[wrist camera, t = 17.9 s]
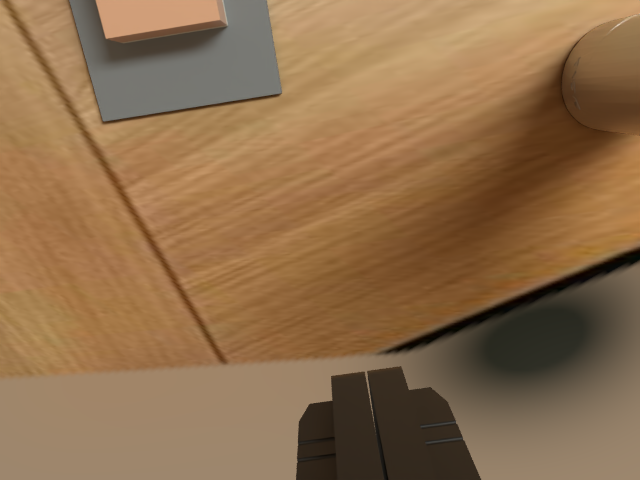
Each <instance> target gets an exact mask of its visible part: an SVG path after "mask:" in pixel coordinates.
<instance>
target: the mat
mask: <svg viewBox="0 0 640 480" xmlns="http://www.w3.org/2000/svg"><path fill="white" fill-rule="evenodd" d="M69 1H70V5H71V9H72V12H73V16H74V19H75V23H76V26H77V30H78V34H79V37H80V41H81V44H82V48H83V51H84V55H85V59H86V62H87V66H88V69H89V73H90V76H91V80H92V84H93V87H94V91H95V94H96V98H97V101H98V105H99V108H100V112H101V116H102V119H103V122H104V121H110V120H117V119H123V118H129V117H135V116H142V115H148V114H154V113H161V112H167V111H173V110H179V109H186V108H192V107H198V106H205V105H211V104H217V103H223V102H230V101H236V100H242V99H249V98H255V97H261V96H267V95H274V94H280V93H282V90H281V84H280V78H279V72H278V66H277V60H276V54H275V48H274V42H273V36H272V30H271V24H270V18H269V12H268V6H267V0H223V2H224V7H225V12H226V17H227V23H228V26H226V27H220V28H214V29H208V30H202V31H196V32H189V33H183V34H177V35H171V36H165V37H159V38H153V39H147V40H141V41H135V42H129V43H120V42H116V41H113V40H109V39H106V37H105V33H104V30H103V26H102V22H101V18H100V15H99V11H98V7H97V3H96V0H69Z"/></svg>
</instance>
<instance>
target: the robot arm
mask: <svg viewBox="0 0 640 480" xmlns="http://www.w3.org/2000/svg"><path fill="white" fill-rule="evenodd" d="M562 95H563V99H564V102H565V105H566V107H567V109H568V110H569V112H570V114H571V115H572V116H573V117H574V118H575V119H576V120H577V121H578V122H579V123H581V124H583V125H585V126H586V127H589V128H592V129H596V130H602V131H610V132H618V133H624V134H632V135H640V14H638V15H634V16H629V17H625V18H621V19H617V20H613V21H610V22H607V23H604V24H602V25H599V26H598V27H596V28H594V29H593V30H591V31H590V32H588V33H587V34H586V35H585V36H584V37H583V38H582V39H581V40H580V41H579V42H578V43H577V44H576V46H575V47H574V48H573V50H572V51H571V53H570V55H569V57H568V59H567V61H566V64H565V67H564V71H563V75H562ZM367 373H368V381H369V388H370V395H371V402H372V409H373V416H374V421H373V416H372V411H371V405H370V399H369V394H368V388H367V382H366V377H365V372H358V373H351V374H343V375H336V376H331V382H332V398H333V399H332V400H333V401H327V402H320V403H313V404H309V406H308V407H307V409H306V411H305V413H304V414H303V416H302V418H301V419H300V421H299V432H298V453H297V455H298V456H297V461H298V463H297V474H296V480H481V478H480V476H479V474H478V472H477V469H476V467H475V465H474V462H473V460H472V458H471V455H470V453H469V451H468V448H467V446H466V444H465V441H463V437H462V434H461V432H460V430H459V427H458V425H457V424H456V421H455V418H454V416H453V413H452V411H451V409H450V407H449V404H448V402H447V401H446V400H445V399H443V398H442V397H441V396H440V395H439V394H438V393H436V392H435V391H434V390H432V388H431V387H429V388H422V389H415V390H409V389H408V386H407V383H406V380H405V377H404V374H403V370H402V368H401V366H400V367H393V368H386V369H379V370H371V371H368V372H367ZM374 424H375V427H374ZM375 431H376V432H375Z"/></svg>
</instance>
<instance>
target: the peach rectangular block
mask: <svg viewBox="0 0 640 480" xmlns="http://www.w3.org/2000/svg"><path fill="white" fill-rule="evenodd" d="M96 3H97V7H98V11H99V15H100V18H101V22H102V26H103V30H104V33H105V37H106V39H109V40H113V41H116V42H120V43H129V42H135V41H141V40H147V39H153V38H159V37H165V36H171V35H177V34H183V33H189V32H196V31H202V30H208V29H214V28H220V27H226V26H228V23H227V17H226V12H225V7H224V2H223V0H96Z"/></svg>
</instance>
